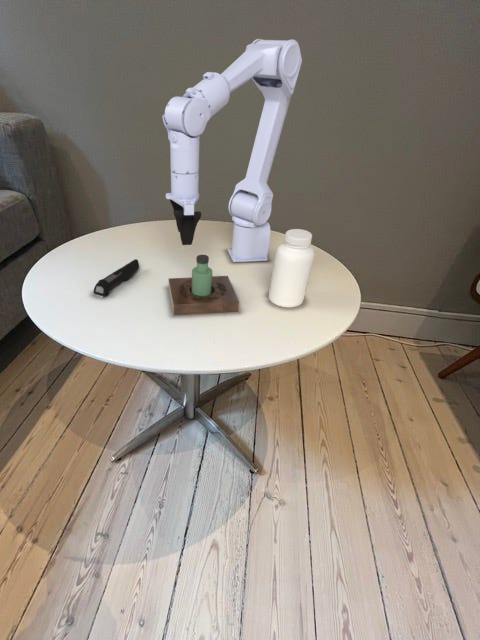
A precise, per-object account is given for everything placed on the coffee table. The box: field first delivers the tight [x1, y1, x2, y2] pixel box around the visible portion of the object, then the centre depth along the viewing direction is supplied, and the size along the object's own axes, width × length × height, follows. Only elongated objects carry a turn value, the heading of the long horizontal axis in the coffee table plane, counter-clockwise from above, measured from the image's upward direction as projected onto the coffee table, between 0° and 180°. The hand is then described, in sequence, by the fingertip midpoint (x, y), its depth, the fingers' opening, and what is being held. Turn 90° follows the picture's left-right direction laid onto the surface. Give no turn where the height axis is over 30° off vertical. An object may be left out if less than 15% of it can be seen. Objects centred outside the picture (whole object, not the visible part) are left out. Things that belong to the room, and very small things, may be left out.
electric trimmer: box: [93, 258, 140, 298], centre depth 92 cm, size 4×16×3 cm, turn 152°
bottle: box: [191, 254, 213, 296], centre depth 84 cm, size 4×4×10 cm
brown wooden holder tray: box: [168, 275, 240, 316], centre depth 86 cm, size 14×12×2 cm
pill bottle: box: [268, 228, 315, 308], centre depth 83 cm, size 8×8×15 cm
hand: (184, 237), depth 87 cm, fingers open, 7 cm apart
